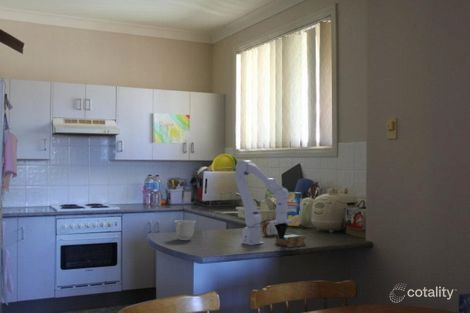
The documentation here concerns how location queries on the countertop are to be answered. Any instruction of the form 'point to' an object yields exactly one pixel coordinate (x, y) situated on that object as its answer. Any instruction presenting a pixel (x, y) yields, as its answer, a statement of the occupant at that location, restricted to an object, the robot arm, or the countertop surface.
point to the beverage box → (294, 207)
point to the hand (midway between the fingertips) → (281, 238)
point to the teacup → (184, 228)
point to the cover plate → (288, 236)
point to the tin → (269, 229)
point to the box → (290, 241)
